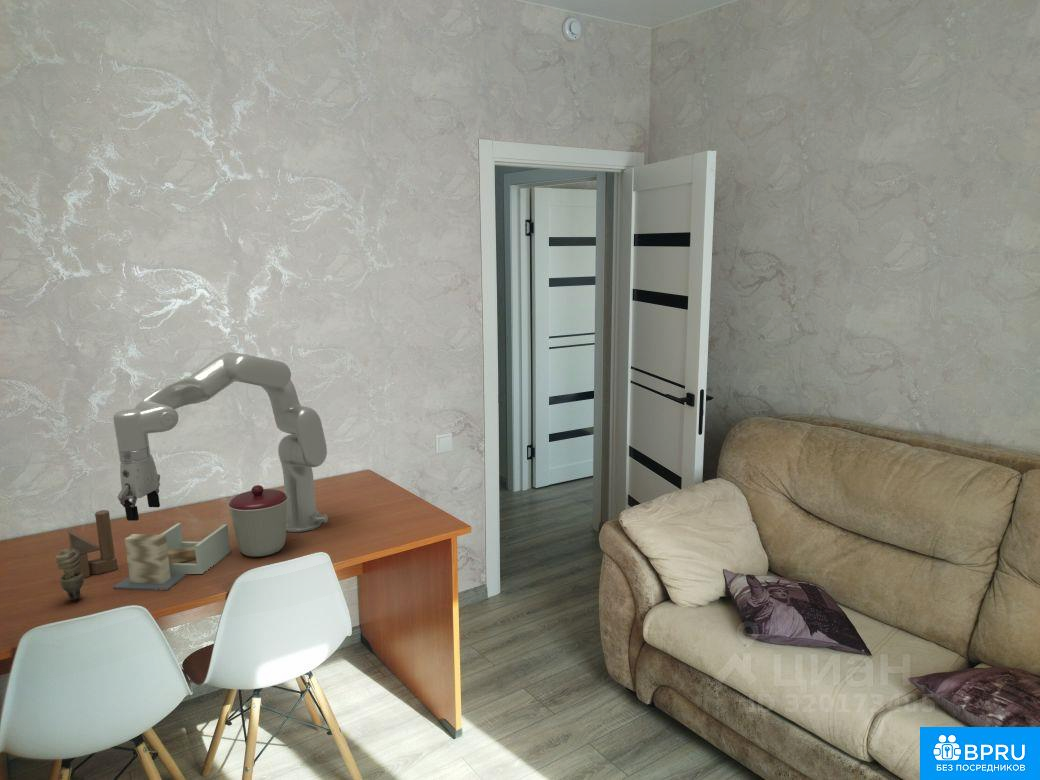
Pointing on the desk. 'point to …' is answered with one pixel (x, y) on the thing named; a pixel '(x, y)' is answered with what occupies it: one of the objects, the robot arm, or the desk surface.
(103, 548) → the brown wooden angled piece
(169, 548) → the tray
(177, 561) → the oak offcut
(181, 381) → the robot arm
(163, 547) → the birch block
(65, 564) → the light bulb
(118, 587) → the slate pad
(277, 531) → the canister
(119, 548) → the desk surface
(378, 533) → the desk surface
